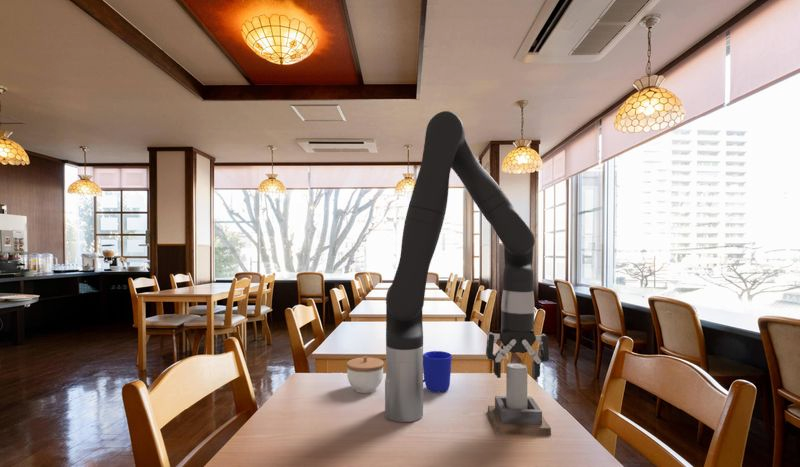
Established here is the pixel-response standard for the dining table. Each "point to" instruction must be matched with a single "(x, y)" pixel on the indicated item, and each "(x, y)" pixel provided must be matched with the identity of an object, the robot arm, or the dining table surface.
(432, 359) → the mug
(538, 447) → the dining table surface
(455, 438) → the dining table surface
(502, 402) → the can holder
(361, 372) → the lidded jar
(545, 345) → the robot arm
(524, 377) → the beverage can
